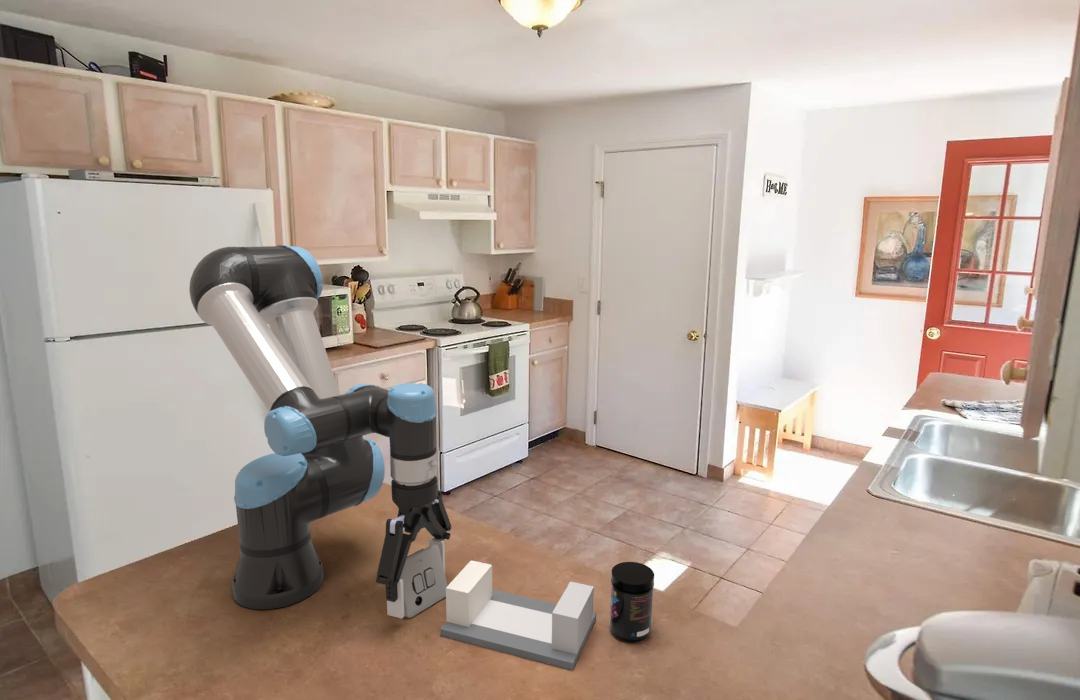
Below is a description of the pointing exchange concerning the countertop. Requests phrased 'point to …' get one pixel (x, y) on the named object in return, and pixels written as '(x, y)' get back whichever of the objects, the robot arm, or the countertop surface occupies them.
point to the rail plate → (518, 618)
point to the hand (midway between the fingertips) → (418, 593)
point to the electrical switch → (423, 580)
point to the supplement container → (631, 601)
